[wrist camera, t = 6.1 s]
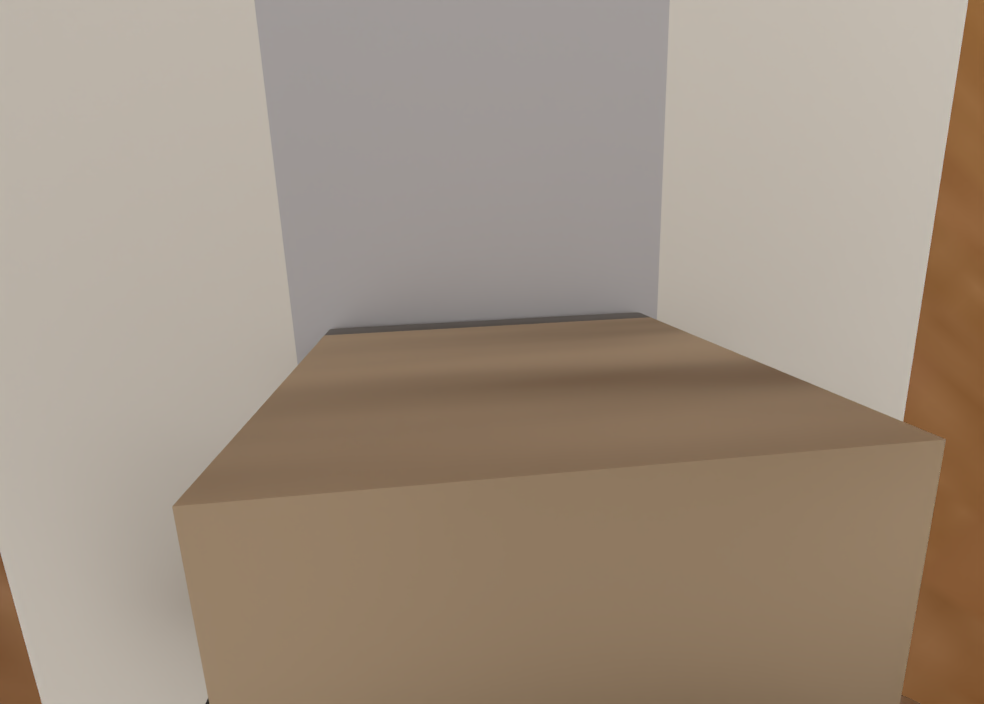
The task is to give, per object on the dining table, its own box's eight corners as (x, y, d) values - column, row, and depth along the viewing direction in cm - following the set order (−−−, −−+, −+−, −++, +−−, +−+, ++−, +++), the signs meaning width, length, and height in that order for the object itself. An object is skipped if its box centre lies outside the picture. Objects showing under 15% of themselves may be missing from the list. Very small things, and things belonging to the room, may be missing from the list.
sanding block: (329, 328, 8) (170, 506, 3) (638, 312, 9) (946, 439, 4) (377, 781, 11) (331, 1345, 5) (625, 746, 11) (809, 1224, 6)
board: (-375, -1208, 5) (-589, -1593, 4) (1024, -895, 7) (1138, -1107, 6) (119, 800, 12) (85, 864, 10) (815, 702, 13) (852, 746, 12)
